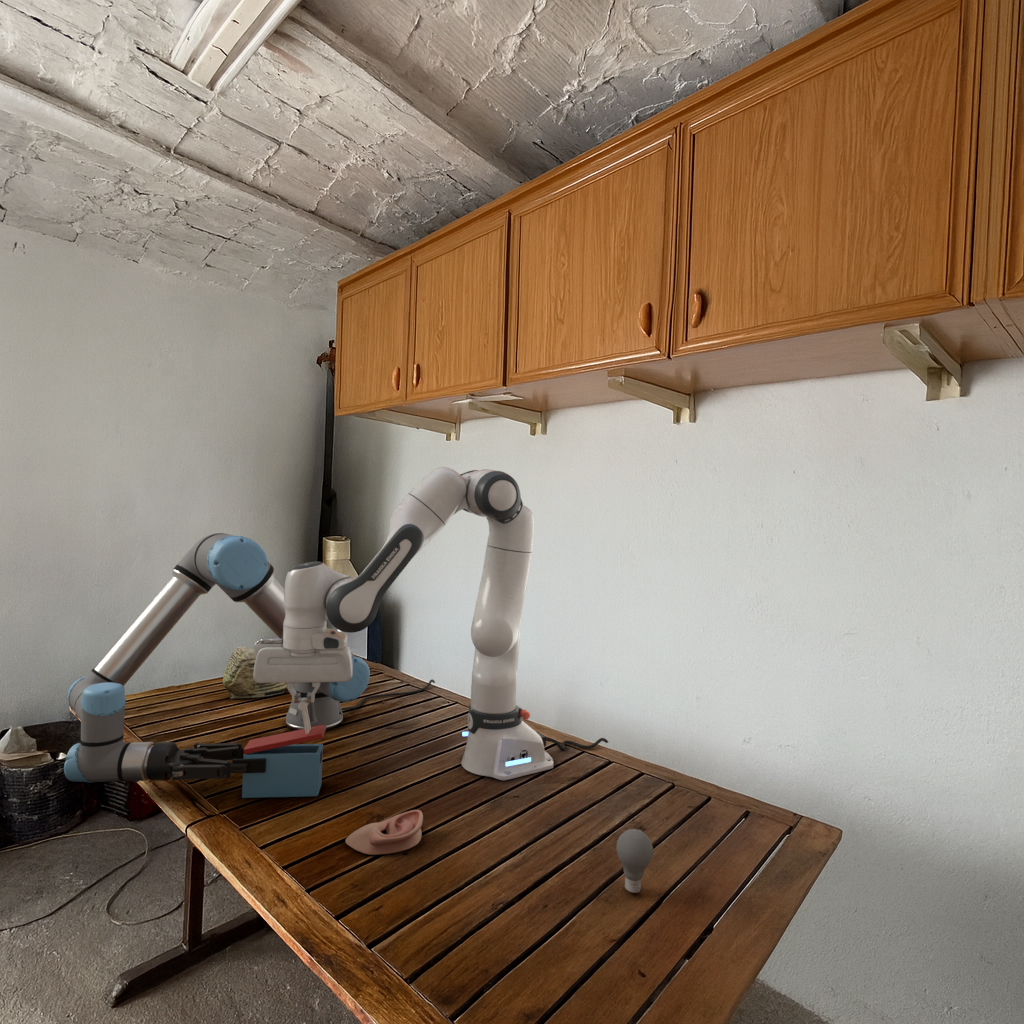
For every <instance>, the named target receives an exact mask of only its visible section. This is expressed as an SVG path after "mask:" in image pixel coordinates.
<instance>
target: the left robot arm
mask: <svg viewBox="0 0 1024 1024" xmlns="http://www.w3.org/2000/svg"><path fill="white" fill-rule="evenodd" d="M275 571H276V570H275V567H274V566H273V565H272V564H271V563H270V562H269V560H268V556H267V554H266V551H265V550H264V548H262V546H261V545H260V544H259V543H257V542H256V541H255V540H253V539H251V538H248V537H247V536H243V535H235V534H233V535H232V534H229V533H225V532H215V533H211V534H208V535H205V536H203V537H202V538H201V539H199V540H198V541H197V542H196V543H195V544H193V545H192V547H190V549H189V550H188V551H187V552H186V553H185V554H184V556H183V557H182V558H181V559H180V561H178V563H176V564H175V566H174V567H173V568H172V570H171V572H172V573H171V575H172V577H171V578H170V579H169V580H168V581H167V583H165V585H164V586H163V587H162V588H161V589H160V591H159V592H157V594H156V595H155V596H154V597H153V599H152V600H150V602H149V603H148V604H147V605H146V606H145V608H144V609H143V610H142V611H141V612H140V614H139V615H137V617H136V618H135V619H134V621H133V622H132V623H131V624H130V625H129V626H128V627H127V628H126V630H125V631H124V632H123V633H122V635H121V636H120V637H119V638H118V639H117V640H116V641H115V642H114V644H113V645H112V646H111V647H110V648H109V649H108V651H106V653H105V654H104V655H103V656H102V658H101V659H100V660H99V661H98V662H97V663H96V664H95V666H94V667H93V668H92V669H91V670H90V671H89V672H88V673H87V674H86V675H84V676H81V677H80V678H78V679H77V680H75V681H74V682H73V683H72V684H71V685H70V687H69V688H68V691H67V700H68V704H69V707H70V709H71V710H72V711H73V712H74V713H75V714H76V715H75V716H77V718H78V719H79V721H80V742H77V743H75V744H73V745H72V746H71V747H70V748H69V750H68V752H67V754H66V755H65V762H64V765H63V773H64V776H65V778H66V779H67V780H68V781H70V782H77V783H89V784H91V783H92V784H93V783H103V782H105V783H108V782H109V783H110V782H133V783H135V784H137V783H139V782H146V781H148V780H149V781H151V782H160V781H161V782H163V781H169V780H172V781H182V780H223V779H226V780H228V779H230V778H231V777H232V774H243V773H265V771H266V758H262V759H244V751H243V749H244V748H245V747H246V746H243V743H242V742H226V743H225V742H223V743H204V742H203V743H202V742H195V743H194V744H193V747H187V748H183V749H180V748H178V745H177V743H176V742H174V741H157V742H156V743H155V742H154V741H134V742H133V741H132V742H131V741H129V742H126V741H125V740H124V736H125V713H126V712H125V711H126V703H127V699H126V689H125V686H126V684H127V683H128V682H129V681H130V679H131V678H132V677H133V676H134V675H135V673H137V671H138V670H139V669H140V668H141V666H142V665H143V664H144V662H145V661H146V660H148V658H149V657H150V656H151V655H152V653H153V652H154V651H155V649H156V648H157V647H158V646H159V645H160V644H161V643H162V641H163V640H164V639H165V637H167V636H168V634H169V633H170V631H172V630H173V628H174V627H175V626H176V625H177V624H178V622H179V621H180V620H181V619H182V618H183V616H184V615H185V614H186V613H187V612H188V611H189V609H190V608H191V607H192V606H193V605H194V603H195V602H196V601H197V599H199V597H200V596H202V595H206V594H208V593H209V592H210V591H211V590H212V588H214V586H217V587H219V588H220V589H221V590H222V591H223V592H224V593H225V594H226V595H227V597H228V598H230V599H231V600H232V602H234V603H244V604H245V605H246V606H247V607H248V608H249V609H250V610H251V611H252V612H253V614H255V615H256V616H257V617H258V618H259V619H260V620H261V621H262V622H263V623H264V624H265V625H266V626H267V627H268V628H269V629H270V630H271V631H272V632H273V633H274V634H275V635H276V636H277V638H283V623H284V620H285V615H286V613H285V608H284V589H285V587H283V586H282V585H281V583H280V582H279V581H278V580H277V579H276V577H275ZM351 655H352V663H353V675H352V678H351V679H350V680H349V681H348V682H321V684H320V686H319V688H318V690H317V691H316V693H315V701H314V703H309V704H308V705H307V709H308V714H309V720H310V725H311V727H315V726H320V725H326V731H329V730H332V729H335V728H337V727H339V726H340V725H342V723H343V722H344V714H343V711H348V710H355V709H358V708H360V707H361V705H362V704H363V702H364V701H368V700H370V699H376V698H383V697H384V698H385V697H392V696H393V697H394V696H405V695H412V694H415V693H416V694H417V693H420V692H423V691H425V690H426V689H428V688H429V687H430V686H431V684H432V683H433V684H435V683H436V681H435V680H434V679H433V678H432V679H430V680H429V681H428V684H426V686H423V687H422V688H418V689H415V690H409V691H403V692H390V693H383V694H375V695H369V696H365V697H363V698H362V699H361V700H360V701H359V702H358V704H356V705H353V706H346V707H342V706H341V703H350V702H353V701H355V700H357V699H358V698H359V697H361V695H362V694H363V693H364V692H365V691H366V690H367V688H368V685H369V683H370V676H371V670H370V667H369V665H368V663H367V662H366V661H365V660H364V659H363V658H361V657H359V656H356V655H354V653H353V652H351ZM294 688H295V690H296V692H297V693H301V696H300V701H301V699H303V698H307V694H308V693H311V692H312V691H313V690H314V688H315V687H312V682H300V683H295V685H294ZM299 703H300V702H299ZM299 703H292V701H291V702H290V704H289V708H288V711H287V713H286V715H285V726H286V728H287V729H289V730H291V731H296V730H301V729H305V727H304V722H303V716H302V711H301V710H299V708H298V705H299Z"/></svg>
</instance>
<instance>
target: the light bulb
mask: <svg viewBox="0 0 1024 1024" xmlns="http://www.w3.org/2000/svg"><path fill="white" fill-rule="evenodd" d="M615 849H616V854H617V857H618V859H619V861H620V863H621V865H622V867H623V873H624V874H623V875H624V876H625V878H624V888H625V890H627V891H628V892H630V893H634V894H635V893H639V892H640V891H641V889H642V887H641V886H642V879H643V877H644V875H645V871H646V868H647V867H648V866H649V864H650V863H651V861H652V859H653V855H654V847H653V843H652V841H651V838H649V836H648V835H647V834H646V833H645V832H643V831H642V830H641V829H636V828H629V829H627V830H625V831H623V832H622V833H621V834H620V835H619V837H618V839H617V841H616V847H615Z"/></svg>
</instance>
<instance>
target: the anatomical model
mask: <svg viewBox="0 0 1024 1024" xmlns="http://www.w3.org/2000/svg"><path fill="white" fill-rule="evenodd" d="M423 814H424V813H423V812H422V810H420V809H411V810H409V811H404V812H401V813H398V814H396V815H393V816H391V817H388V818H387V819H385V820H382V821H380V822H371V823H368V824H365V825H363V826H361V827H359V828H357V829H356V830H355V831H353V832H352V833H351V834H349V835H348V836H347V837H346V838H345V842H344V843H345V844H346V845H347V846H349V847H350V848H351V849H353V850H355V851H357V852H360V853H362V854H365V855H368V856H369V855H370V856H376V855H387V854H393V853H399V852H403V851H406V850H409V849H411V848H413V847H415V846H416V845H418V844H419V843H420V841H421V840H422V835H423V834H422V832H423V831H422V828H421V827H422V826H423V822H424V815H423Z"/></svg>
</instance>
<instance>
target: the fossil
mask: <svg viewBox="0 0 1024 1024" xmlns="http://www.w3.org/2000/svg"><path fill="white" fill-rule="evenodd" d="M255 660H256V658H255V656H254V648H251V647H247V646H246V647H245V646H238V647H237V648H236V649H235V650H233V651H232V653H231V656H230V657H229V659H228V660H227V663H226V666H225V668H224V671H223V675H222V676H223V677H222V685H223V687H224V688H225V690H226V691H228V693H229V698H230V699H250V698H264V697H271V696H275V695H281V694H284V693H285V691H286V689H287V683H257V682H256V681H255V680H254V679H253V674H254V665H255Z"/></svg>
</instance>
